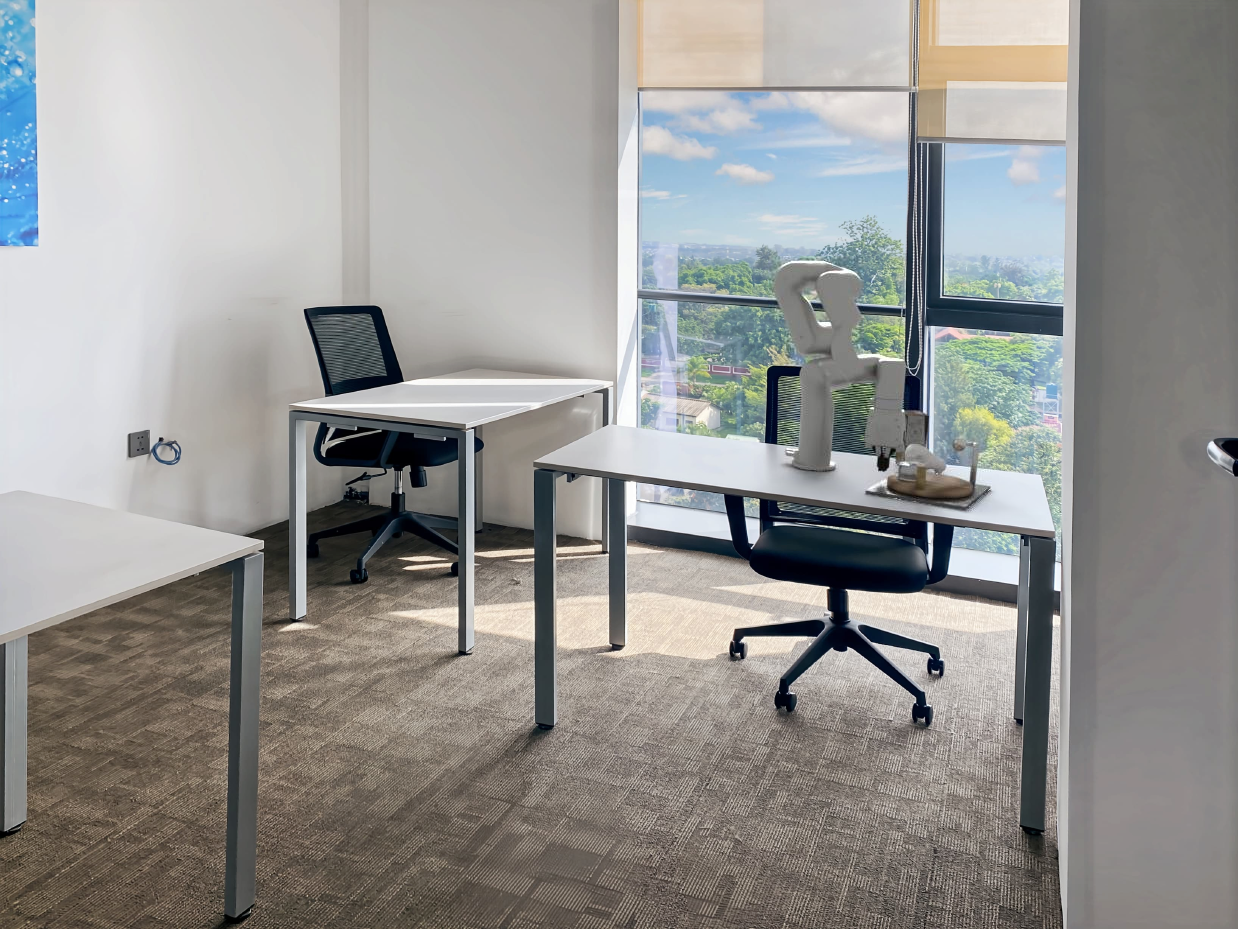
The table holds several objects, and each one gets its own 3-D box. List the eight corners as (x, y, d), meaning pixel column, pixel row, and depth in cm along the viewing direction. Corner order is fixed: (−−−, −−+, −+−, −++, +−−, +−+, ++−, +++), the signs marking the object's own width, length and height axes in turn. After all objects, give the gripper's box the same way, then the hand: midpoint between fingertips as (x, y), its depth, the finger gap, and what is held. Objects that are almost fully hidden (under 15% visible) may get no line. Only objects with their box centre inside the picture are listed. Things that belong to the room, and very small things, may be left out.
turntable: (875, 488, 275) (878, 461, 274) (901, 473, 293) (903, 447, 292) (960, 502, 264) (963, 474, 262) (981, 485, 282) (984, 458, 280)
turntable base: (865, 494, 275) (869, 441, 272) (896, 475, 296) (900, 425, 293) (965, 510, 262) (971, 455, 258) (990, 489, 283) (996, 438, 280)
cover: (892, 479, 280) (893, 464, 279) (901, 473, 286) (902, 459, 285) (921, 484, 276) (922, 468, 275) (929, 478, 282) (931, 463, 281)
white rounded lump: (905, 440, 301) (947, 446, 300) (899, 469, 303) (941, 475, 302) (909, 445, 294) (952, 451, 294) (903, 474, 296) (946, 480, 296)
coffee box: (924, 470, 304) (930, 415, 300) (902, 469, 304) (907, 415, 300) (915, 462, 312) (921, 410, 309) (894, 462, 312) (899, 409, 309)
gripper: (856, 403, 281) (851, 469, 285) (911, 409, 274) (905, 477, 278) (866, 399, 287) (860, 464, 292) (919, 405, 280) (913, 472, 284)
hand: (882, 470), depth 285 cm, fingers closed
